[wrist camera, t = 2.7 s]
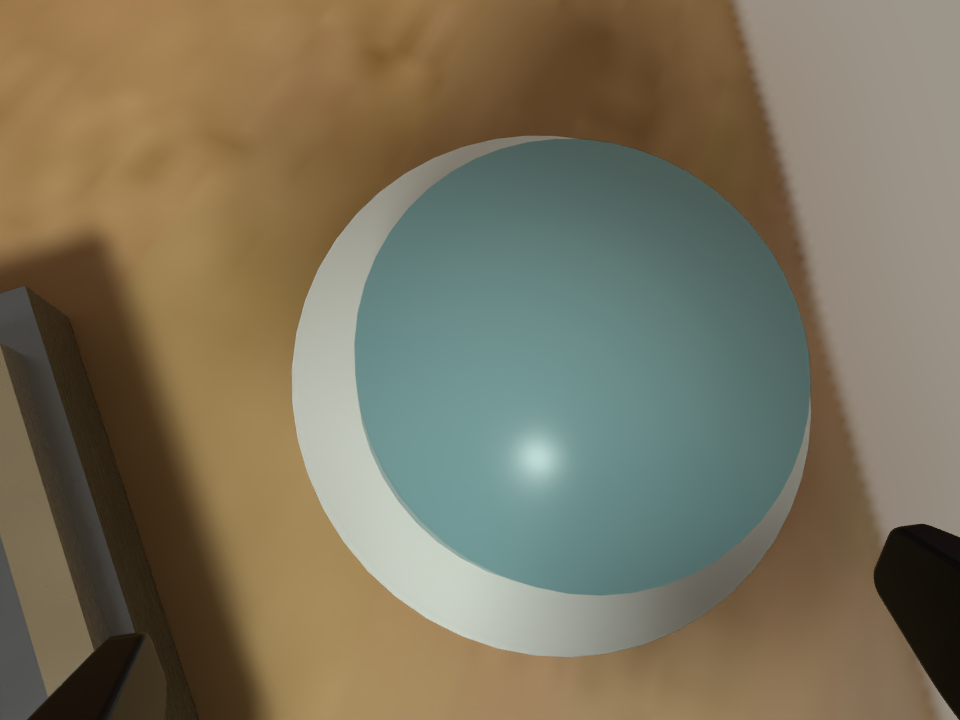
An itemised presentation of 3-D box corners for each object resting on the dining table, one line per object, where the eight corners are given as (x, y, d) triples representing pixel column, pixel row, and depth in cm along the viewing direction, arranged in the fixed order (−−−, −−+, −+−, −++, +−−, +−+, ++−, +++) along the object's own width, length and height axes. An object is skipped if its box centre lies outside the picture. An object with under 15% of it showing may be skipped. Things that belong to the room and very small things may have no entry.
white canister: (570, 533, 20) (975, 520, 7) (386, 614, 19) (419, 798, 5) (495, 354, 21) (717, 19, 7) (314, 423, 20) (192, 175, 6)
